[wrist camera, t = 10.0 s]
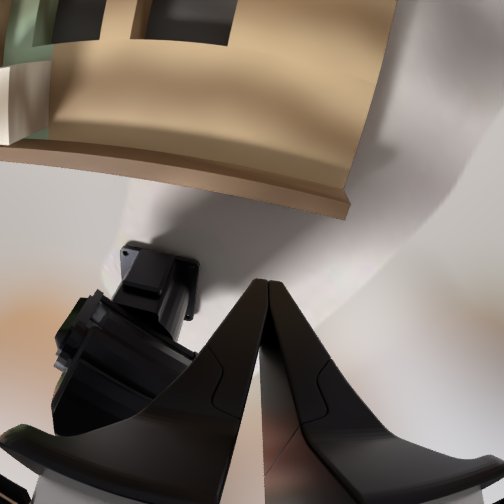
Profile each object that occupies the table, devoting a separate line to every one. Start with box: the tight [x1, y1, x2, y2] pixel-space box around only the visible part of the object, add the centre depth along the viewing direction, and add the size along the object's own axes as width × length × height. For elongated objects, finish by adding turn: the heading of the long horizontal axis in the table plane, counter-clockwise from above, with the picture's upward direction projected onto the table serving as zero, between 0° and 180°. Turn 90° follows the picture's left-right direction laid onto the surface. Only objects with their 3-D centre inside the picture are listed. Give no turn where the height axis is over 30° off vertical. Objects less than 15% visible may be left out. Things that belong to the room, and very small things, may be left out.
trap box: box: [0, 0, 397, 220], centre depth 14 cm, size 14×25×4 cm, turn 78°
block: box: [0, 60, 52, 145], centre depth 13 cm, size 4×5×4 cm
